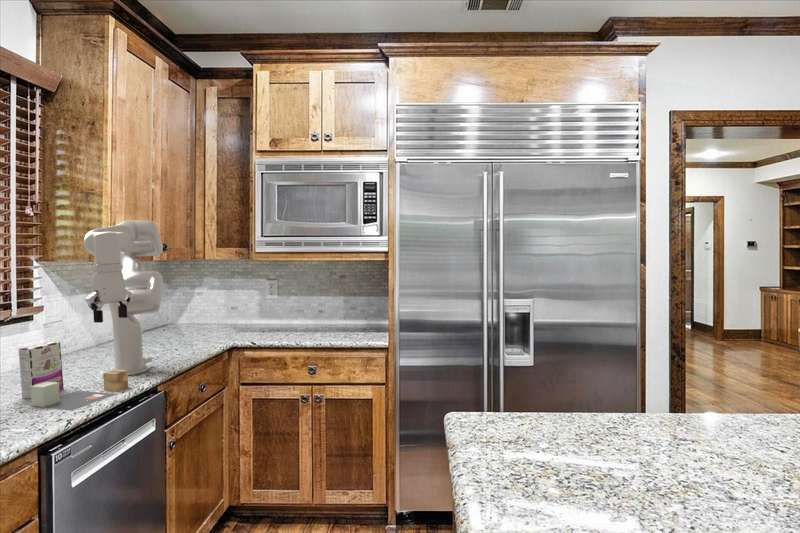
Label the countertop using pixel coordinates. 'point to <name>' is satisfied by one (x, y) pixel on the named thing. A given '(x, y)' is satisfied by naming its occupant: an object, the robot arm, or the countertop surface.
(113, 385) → the oak block
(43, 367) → the candy bar box
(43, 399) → the sage block
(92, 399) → the mat
